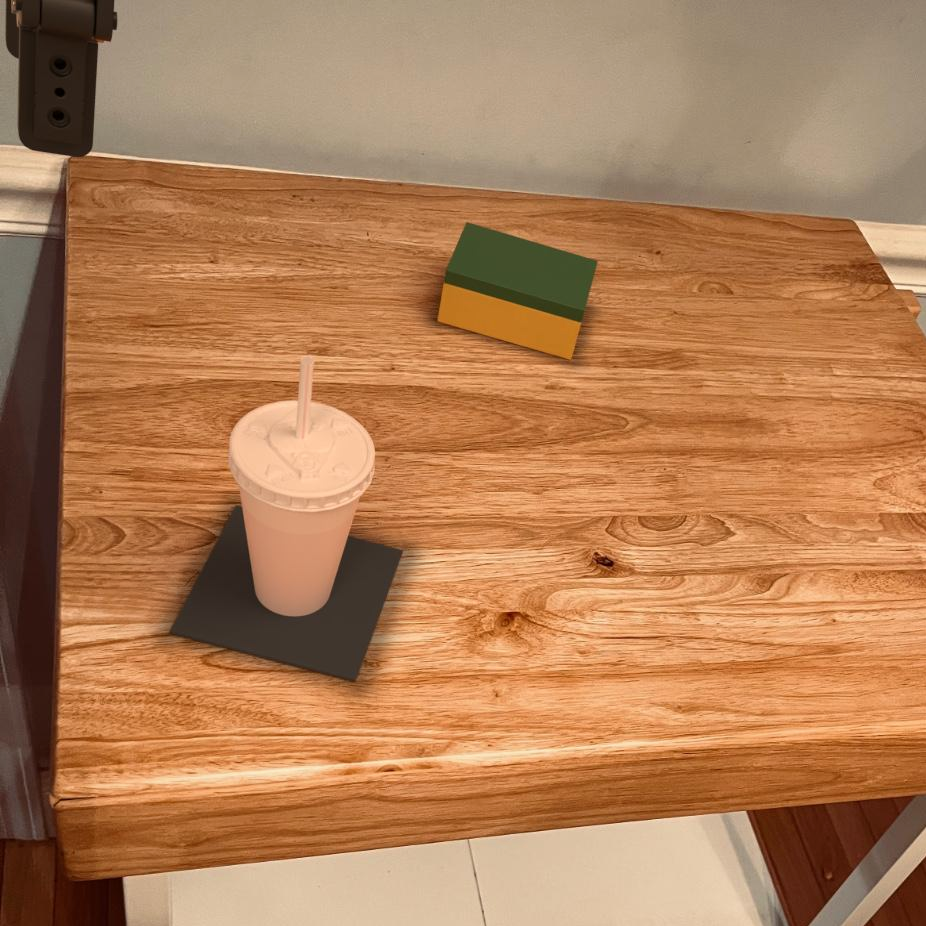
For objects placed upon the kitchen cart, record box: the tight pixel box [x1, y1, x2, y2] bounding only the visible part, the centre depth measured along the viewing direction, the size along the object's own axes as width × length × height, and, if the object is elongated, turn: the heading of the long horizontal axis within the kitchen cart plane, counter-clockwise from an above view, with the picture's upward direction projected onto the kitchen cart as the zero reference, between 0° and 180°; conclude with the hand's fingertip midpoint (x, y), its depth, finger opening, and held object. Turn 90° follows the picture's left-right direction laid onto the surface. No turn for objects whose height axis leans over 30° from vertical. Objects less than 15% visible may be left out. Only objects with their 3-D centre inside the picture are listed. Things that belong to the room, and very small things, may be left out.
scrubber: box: [437, 221, 598, 361], centre depth 78 cm, size 9×6×4 cm, turn 83°
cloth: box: [169, 504, 404, 683], centre depth 60 cm, size 9×9×1 cm
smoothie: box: [227, 355, 376, 616], centre depth 55 cm, size 6×6×14 cm
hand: (46, 102), depth 42 cm, fingers open, 8 cm apart
